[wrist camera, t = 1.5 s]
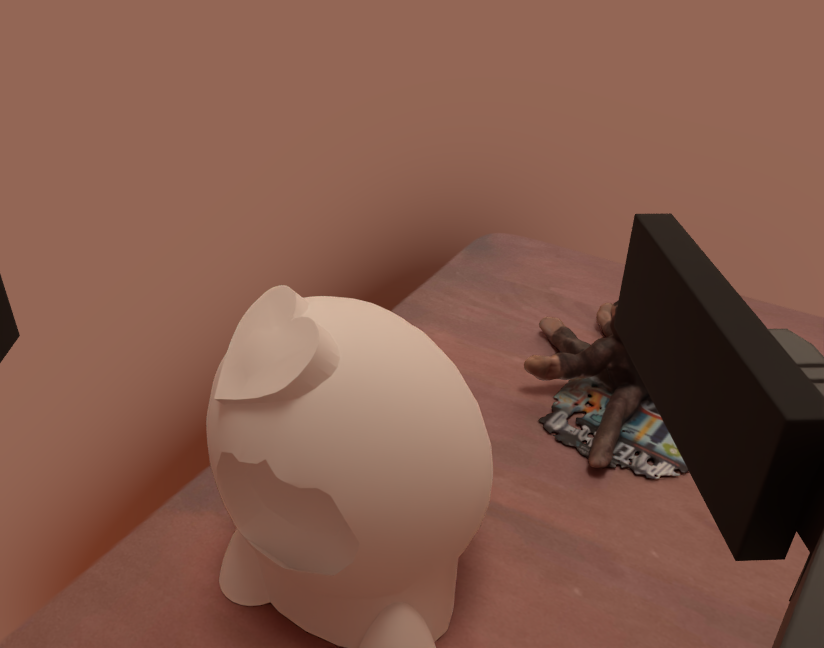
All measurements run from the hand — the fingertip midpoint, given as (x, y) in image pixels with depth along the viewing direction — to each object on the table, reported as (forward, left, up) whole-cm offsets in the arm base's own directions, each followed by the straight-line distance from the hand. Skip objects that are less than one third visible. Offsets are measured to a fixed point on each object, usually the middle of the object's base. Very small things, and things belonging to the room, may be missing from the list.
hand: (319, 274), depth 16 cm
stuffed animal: (+27, +2, -21) cm, 34 cm away
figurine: (+7, +6, -21) cm, 22 cm away
